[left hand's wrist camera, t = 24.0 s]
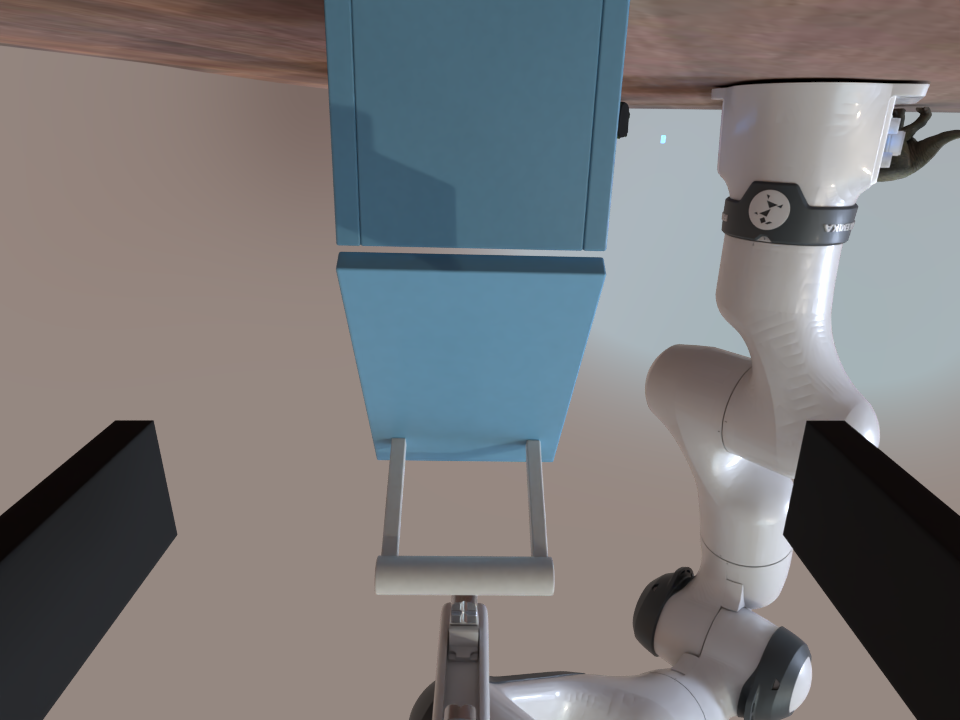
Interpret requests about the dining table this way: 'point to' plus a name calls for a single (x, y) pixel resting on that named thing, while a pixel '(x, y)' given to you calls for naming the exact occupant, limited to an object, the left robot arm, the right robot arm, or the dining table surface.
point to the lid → (467, 386)
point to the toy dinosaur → (914, 147)
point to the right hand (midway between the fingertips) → (462, 648)
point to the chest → (474, 121)
